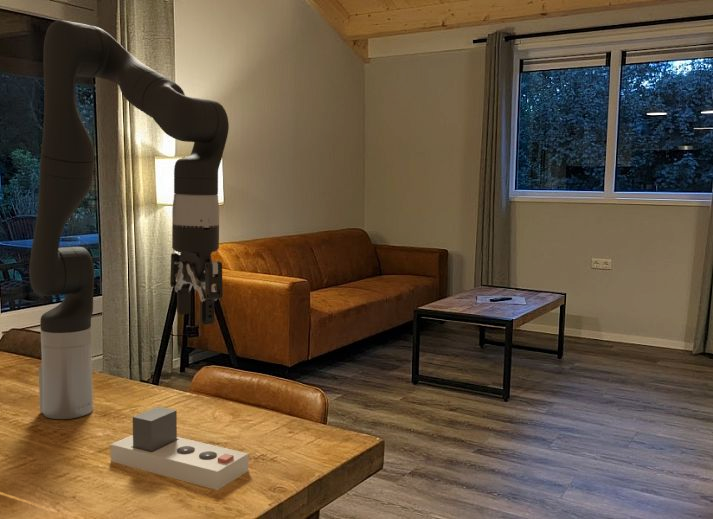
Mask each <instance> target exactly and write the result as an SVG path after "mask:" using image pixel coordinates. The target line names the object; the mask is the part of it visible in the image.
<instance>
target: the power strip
mask: <svg viewBox="0 0 713 519" xmlns="http://www.w3.org/2000/svg"><path fill="white" fill-rule="evenodd" d="M110 462H112V463H116V464H119V465H123V466H127V467H129V468H130V467H131V468H134V469H138V470H141V471H146V472H149V473H152V474H156V475H160V476H164V477H167V478H171V479H176V480H179V481H183V482H187V483H189V484H193V485H197V486H201V487H205V488H208V489H211V490H216V491H219V490H220V489H222V488H224V487H225V486H227V485H229V484H230V483H232V482H233V481H234V480H237V479H238V478H239V477H241V476H242V475H244V474H245V473H247V472H249V453H248V452H243V451H239V450H237V449H236V450H235V449H231V448H226V447H223V446H219V445H213V444H209V443H206V442H201V441H197V440H192V439H188V438H184V437H180V436H177V441H175V442H173V443H171V444H169V445H166V446H164V447H162V448H160V449H158V450H156V451H154V452H148V451H144V450H140V449H136V448H133V434H131V435H129V436H127V437H124V438H123V439H120V440H117V441H115V442H113V443H111V444H110Z"/></svg>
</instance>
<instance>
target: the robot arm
mask: <svg viewBox="0 0 713 519" xmlns="http://www.w3.org/2000/svg"><path fill="white" fill-rule="evenodd" d="M76 77H81V78H91V79H93V78H99V79H103V80H106V81H109V82H111V83H114V84H116V85H117V86H118V87H119V90H120V92H121V95H122V96H123V97H124V98H125V100H126V101H127V102H129V104H131V105H132V106H133V107H135V108H137V110H139V111H141V112H142V113H144V114H145V115H147V116H149V117H150V118H152V119H153V121H154V122H155V123H156V124H157V126H159V128H160V129H161V130H162V131H163V132H164V133H165V134H166V135H168V136H169V137H171V138H173V139H175V140H177V141H180V142H188V143H193V146H192V150H191V152H190V154H189V155H187V156H185V157H182V158H178V160H176V161H175V163H174V166H173V168H174V169H173V193H174V194H173V201H172V207H171V208H172V212H171V213H172V214H171V215H172V222H171V224H172V226H171V227H172V229H171V231H172V233H171V235H172V237H171V238H172V239H171V240H172V242H171V243H172V244H171V248H172V250H173V251H175V252H172V253H171V254H170V278H169V279H170V284H169V285H170V287H171V288H174V292H175V293H176V313H177V314H178V315H180V316H181V315H189V314H190V313H191V311H192V310H191V307H192V303H191V302H192V301H191V300H192V299H191V298H192V295H191V294H192V293H191V290H192V287H193V289H194V290H195V291H197V293H198V296H199V300H200V302H199V306H200V307H199V323H200V324H201V325H203V326H204V325H212V324H214V322H215V302H216V301H217V300H220V299H223V297H224V296H223V293H224V292H223V291H224V290H223V264H222V261H213V260H212V253H213V252H217V251H218V250H219V249H220V205H219V195H218V194H219V169H220V165H221V163H222V162H221V161H222V158H223V154H224V151H225V146H226V144H227V141H228V140H227V139H228V136H229V130H230V129H229V128H230V127H229V125H230V122H229V117H228V114H227V111H226V110H225V107H224V106H223V105H222V104H221V103H220V102H218V101H216V100H212V99H206V98H199V97H192V96H187V95H186V94H185V92H184V90H183V89H182V87H181V86H180V85H178V83H177V82H175V81H173V80H172V79H170V78H169V77H167V76H165V75H164V74H162V73H160V72H158V71H156V70H154V69H152V67H149V66H148V65H146V64H144V63H143V62H141V61H140V60H139V59H138V58H136V57H135V56H134V55H133V54H131V52H129V50H127V49H126V48H125V47H123V46H122V44H121V43H120V42H118V41H117V40H116V38H114V37H113V36H112V35H111V34H110V33H109V32H107V31H105V30H104V29H103V28H100V27H98V26H95V25H90V24H85V23H81V22H73V21H70V20H60V19H57V20H55V21H53V22H52V23H50V25H49V26H48V28H47V30H46V33H45V36H44V42H43V84H44V85H43V88H44V90H43V91H44V94H43V95H44V97H43V98H44V105H43V106H44V107H43V108H44V109H43V110H44V111H43V126H42V127H43V129H42V140H41V141H42V142H41V147H40V148H41V150H40V161H39V180H38V181H39V184H38V199H37V200H38V201H37V212H36V213H37V214H36V219H35V220H36V221H35V226H34V234H33V239H32V245H31V251H30V258H29V265H28V266H29V267H28V268H29V269H28V270H29V271H28V274H29V275H28V276H29V282H30V285H31V286H30V287H31V289H32V290H33V292H34V293H35V294H36V295H38V296H40V297H52V296H62V295H64V298H63V300H62V301H61V302H60V303H59V304H57V306H55V307H54V308H52V309H50V310H48V311H46V312H44V313H43V314H42V315H41V316H40V326H39V327H40V345H41V346H40V348H41V351H40V352H41V364H40V365H39V366H38V385H39V386H38V388H39V389H38V391H39V392H38V393H39V412H40V413H42V414H43V416H44V417H45V418H48V419H53V420H70V419H76V418H80V417H84V416H86V415H89V414H90V413H92V412H93V411H94V410H93V409H94V399H93V398H94V396H93V394H94V393H93V391H94V390H93V389H94V388H93V360H92V357H93V356H92V355H93V354H92V353H93V352H92V351H93V350H92V317H93V312H94V291H95V290H94V287H95V286H94V285H95V272H94V271H95V269H94V261H93V258H92V254H91V253H90V251H89V250H88V249H86V248H85V247H84V246H66V247H62V246H61V247H60V242H61V238H62V234H63V231H64V230H65V227H66V224H67V223H68V221H69V219H70V218H71V217H72V215H73V214H74V213H75V211H76V210H78V207H79V206H80V204H82V202H83V200H84V199H85V198H86V196H87V194H88V193H89V191H90V189H91V187H92V183H93V176H94V167H95V149H94V145H93V141H92V139H91V136H90V135H89V133H88V130H87V128H86V127H85V124H84V122H83V120H82V118H81V116H80V113H79V111H78V108H77V104H76V92H75V88H76V87H75V84H76ZM215 286H216V288H215Z"/></svg>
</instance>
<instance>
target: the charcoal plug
mask: <svg viewBox="0 0 713 519" xmlns="http://www.w3.org/2000/svg"><path fill="white" fill-rule="evenodd" d="M177 412H178V411H177V410H176V409H173V408H172V409H171V408H167V407H162V406H156V407H154V408H151V409H148V410H147V411H144V412H142V413H139V414H136V415H134V416H132V435H133V448H136V449H140V450H144V451H148V452H154V451H156V450H158V449H160V448H162V447H164V446H166V445H169V444H171V443H173V442H175V441H177V437H178V430H177V423H178V422H177V420H178V418H177V417H178V415H177Z"/></svg>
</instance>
